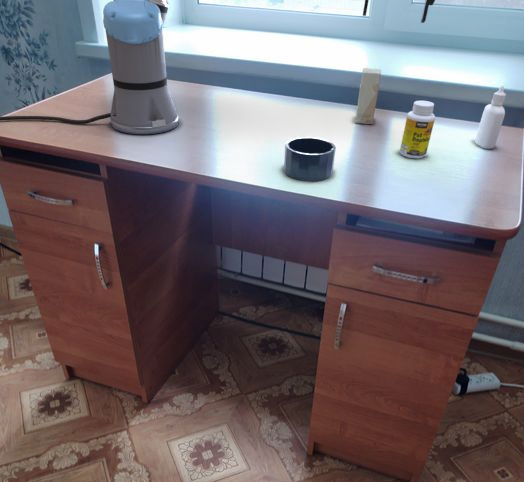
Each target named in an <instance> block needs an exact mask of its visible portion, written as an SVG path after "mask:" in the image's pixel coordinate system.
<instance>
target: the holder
mask: <svg viewBox="0 0 524 482" xmlns="http://www.w3.org/2000/svg"><path fill="white" fill-rule="evenodd" d="M335 156H336V145H335V144H334V143H333V142H331V141H330V140H327V139H324V138H319V137H311V136H305V137H304V136H302V137H301V136H300V137H295V138H292V139H289V140H287V141H286V143H285V144H284V160H283V171H284V173H285V175H286V176H287V177H290V178H292V179H293V180H298V181H301V182H302V181H303V182H320V181H324V180H327V179H329V178H330V177H332V175H333V171H334V164H335Z"/></svg>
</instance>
